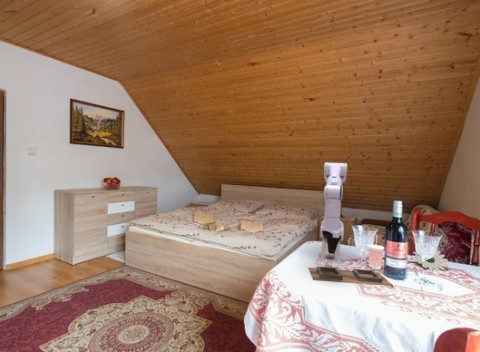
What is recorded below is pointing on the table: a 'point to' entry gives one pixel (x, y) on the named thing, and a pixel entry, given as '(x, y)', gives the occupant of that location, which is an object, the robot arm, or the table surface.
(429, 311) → the table surface
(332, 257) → the metal cylinder
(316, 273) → the dock board
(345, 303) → the table surface
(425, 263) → the flower
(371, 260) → the beverage cup
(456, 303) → the table surface
